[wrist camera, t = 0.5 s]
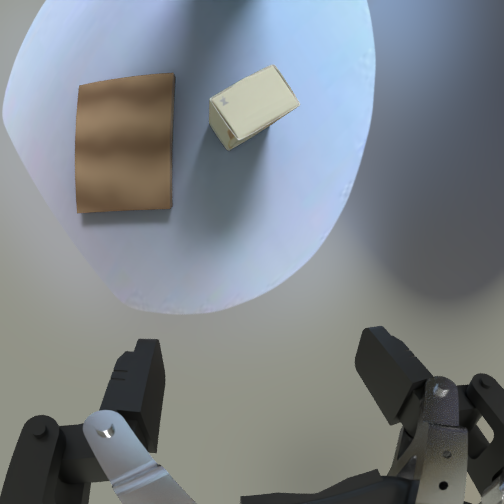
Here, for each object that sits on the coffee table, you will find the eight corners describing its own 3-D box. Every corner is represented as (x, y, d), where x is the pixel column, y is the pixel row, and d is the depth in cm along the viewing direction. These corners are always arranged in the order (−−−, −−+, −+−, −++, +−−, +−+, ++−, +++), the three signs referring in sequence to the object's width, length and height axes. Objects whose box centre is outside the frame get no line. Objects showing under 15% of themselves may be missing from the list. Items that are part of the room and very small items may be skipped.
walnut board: (85, 88, 27) (79, 85, 25) (175, 77, 29) (173, 72, 27) (83, 210, 32) (77, 213, 30) (172, 206, 33) (170, 208, 32)
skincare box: (227, 152, 32) (235, 145, 21) (207, 122, 31) (204, 100, 19) (273, 124, 32) (303, 105, 20) (253, 95, 31) (274, 62, 19)
